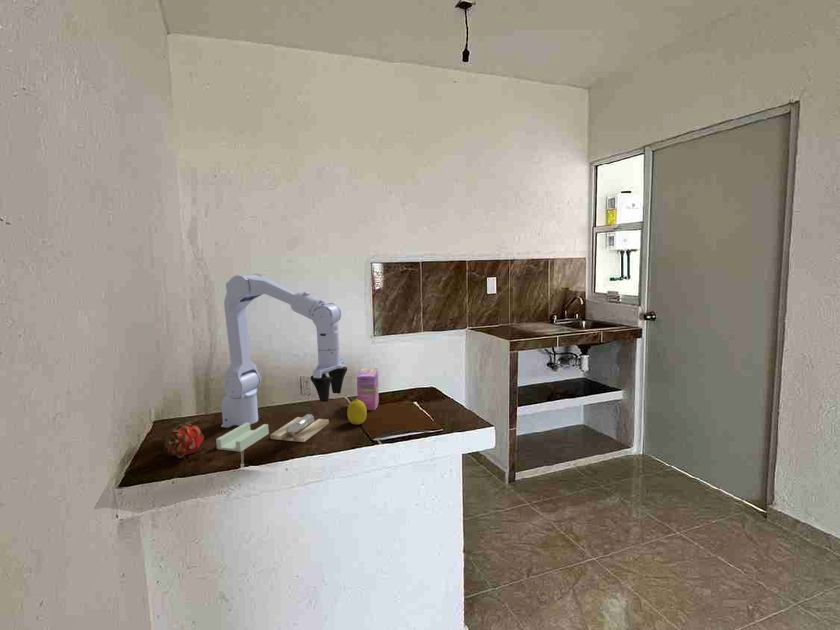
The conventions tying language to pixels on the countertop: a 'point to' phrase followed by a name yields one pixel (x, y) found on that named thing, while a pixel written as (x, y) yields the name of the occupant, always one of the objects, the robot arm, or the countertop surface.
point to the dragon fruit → (183, 440)
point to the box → (368, 387)
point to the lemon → (356, 412)
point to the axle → (299, 425)
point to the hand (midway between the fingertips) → (330, 397)
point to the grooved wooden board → (302, 435)
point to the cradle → (241, 437)
